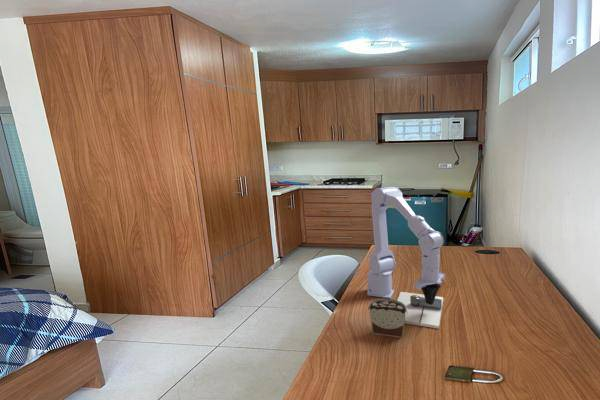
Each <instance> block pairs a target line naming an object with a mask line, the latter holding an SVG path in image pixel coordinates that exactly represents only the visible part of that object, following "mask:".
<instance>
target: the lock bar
mask: <svg viewBox="0 0 600 400" xmlns="http://www.w3.org/2000/svg"><path fill="white" fill-rule="evenodd" d="M410 305H412V306H415V307H418V306H422V307H430V308H439V309H442V310H443V304H442V299H435V300H434V303H433V304H432V305H430V304H427V303H426V300H425V298H424V297H420V296H417V295H412V296H410Z"/></svg>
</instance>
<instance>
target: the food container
mask: <svg viewBox="0 0 600 400" xmlns="http://www.w3.org/2000/svg"><path fill="white" fill-rule="evenodd" d="M367 311H369V313H370V314H369V315H370V321H371V322H370V323H371V330H372V331H371V333H372V334H374V335H378V336H388V337H393V338H401V339H403V337H404V329H405V323H404V322H405V314H406V312H407V308H406V306H405V305H404V304H403V303H402V302H400V301H397V299H391V298H380V299H379V298H377V299H375V300H374V299H373V300H372V301H370V303H369V304H368V307H367ZM407 315H408V313H407Z"/></svg>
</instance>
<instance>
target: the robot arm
mask: <svg viewBox="0 0 600 400" xmlns="http://www.w3.org/2000/svg"><path fill="white" fill-rule="evenodd" d="M370 198H371V218H372V220H371V221H372V231H373V242H374V250H373V251H372V252H371V253H370V255H369V261H368V267H369V271H368V274H367V279H366V280H367V281H366V282H367V285H366V286H367V293H366V296H369V297H377V298H383V299H391V298H392V296H393V294H394V292H395V290H394V289H392V282H393V281H392V279H393V278H392V274H393V272H394V269H395V268H396V265H397V263H396V260H395V256H394V252H393V251H392V250H391V249H390V248H389V237H388V224H387V212H386V211H387V209H389V207H394V208H395V209H396V210H397V211H398V212H399V213H400V214H401V215H402V216H403V217H404V219H405V220H407V227H408V228H409V229H410V231H411V232H412V233H413V234H414V235H415V237H416V238H417V239H418V241H417V242H418V246H419V247H420V253H421V277H420V278H419V279H418V280H417V281H416V282H414V289H416V290H419V291H422V293H423V295H424V296H425V300H426V303H427V304H430V305H432V304H433V303H434V300H435V296H437V293H438V292H439V290H440V288H441V287H442V286H441V284H442V281H444V280H445V279H446V277H445V276H446V274H444V273H441V272H440V258H441V257H440V253H441V250H440V249H441V247H443V245H444V242H445V241H444V237H443V235H442V233H441V232H440V231H436V230H435V229H433V228H432V227H431V226H430V225H429V224H428V223H427V222H426V220H425V217H424V216H421V215H418V214H415V212H414V210H413V209H412V208H411V207H410V205H409V204H408V203H407V201H406V199H405V198H404V196H403V191H401V190H400V189H399V187H397V186H396V185H392V186H386V187H377V188H375V189H374V190H373V191H372V192H371V193H370Z"/></svg>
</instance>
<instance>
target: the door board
mask: <svg viewBox="0 0 600 400" xmlns="http://www.w3.org/2000/svg"><path fill="white" fill-rule="evenodd" d="M412 295H417V296H420V297H424V298H425V296H424V294H421V293H414V292H413V293H412V292H406V291H400V293H399V295H398V297H397V299H396V300H397V301H400V302H402V303H403V304H404V305H405V306H406V308H407V312H406V314H405V322H404V324H407V325H413V326H419V327H420V326H421V327H427V328H432V329H438V330H439V329H440V323H441V316H442V310H443V308H442V309H439V308H430V307H422V306H418V307H415V306H412V305H410V296H412ZM435 299H442V305H443V303H444V296H437V295H436V296H435ZM407 313H408V315H407Z"/></svg>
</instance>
